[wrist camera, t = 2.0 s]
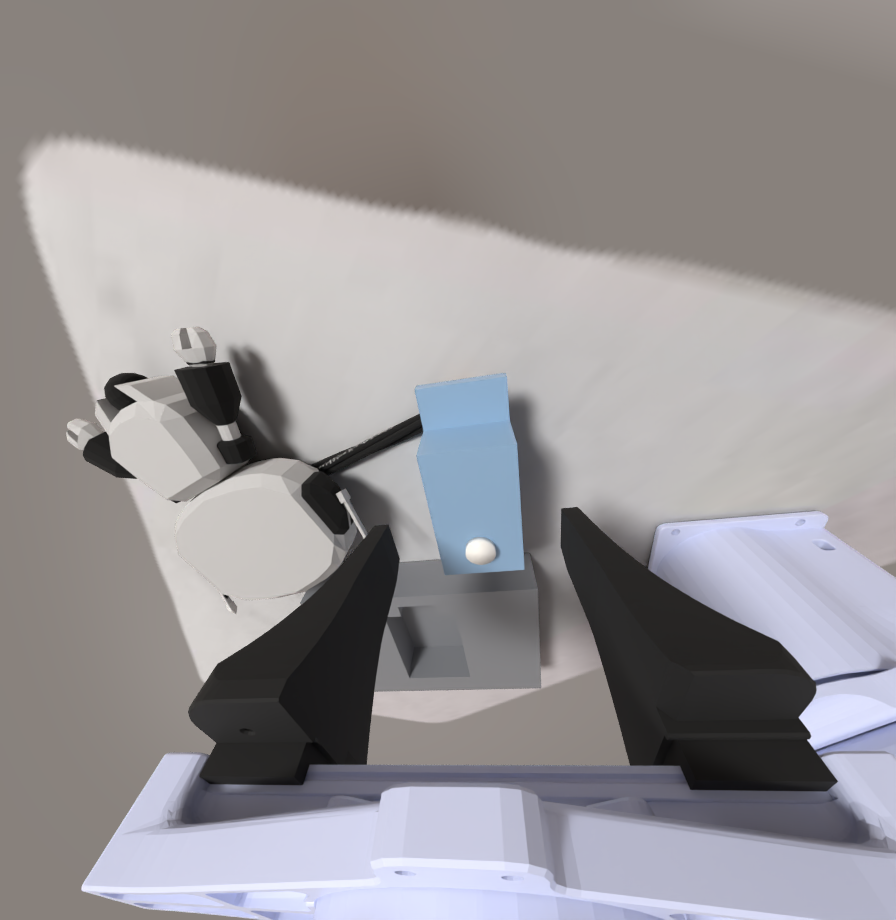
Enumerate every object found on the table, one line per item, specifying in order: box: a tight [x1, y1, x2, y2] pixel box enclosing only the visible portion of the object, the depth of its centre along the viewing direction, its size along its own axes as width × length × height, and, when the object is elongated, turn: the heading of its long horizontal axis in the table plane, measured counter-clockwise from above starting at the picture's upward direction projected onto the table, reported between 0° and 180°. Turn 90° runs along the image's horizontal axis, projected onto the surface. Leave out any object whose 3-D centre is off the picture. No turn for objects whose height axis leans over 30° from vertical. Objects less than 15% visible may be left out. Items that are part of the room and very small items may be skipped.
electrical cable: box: [310, 414, 423, 475], centre depth 19 cm, size 12×1×1 cm, turn 117°
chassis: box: [300, 553, 541, 692], centre depth 25 cm, size 16×12×3 cm
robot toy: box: [66, 327, 368, 614], centre depth 19 cm, size 12×4×15 cm
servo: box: [415, 373, 525, 575], centre depth 16 cm, size 4×11×6 cm, turn 9°
